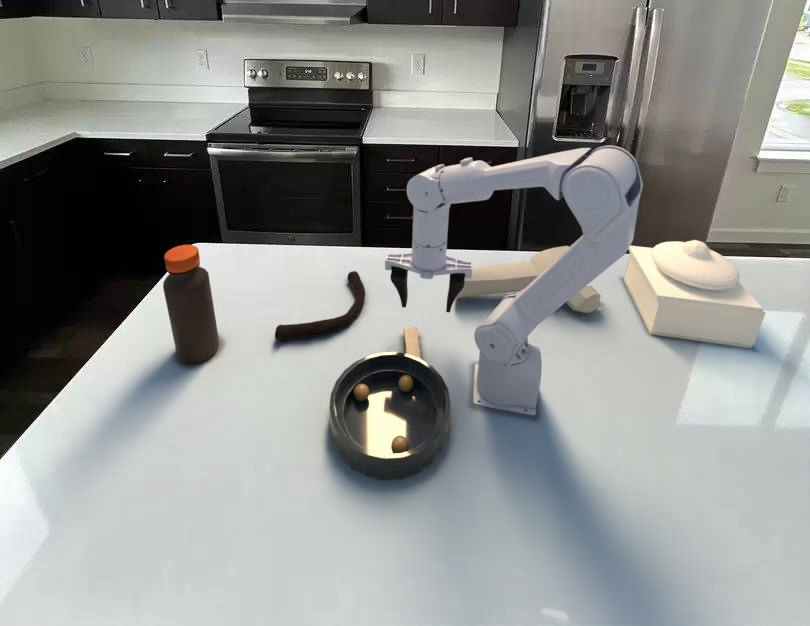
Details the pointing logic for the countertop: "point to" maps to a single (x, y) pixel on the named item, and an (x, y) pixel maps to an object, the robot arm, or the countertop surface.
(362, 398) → the bead
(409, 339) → the block
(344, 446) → the bowl
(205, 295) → the bottle
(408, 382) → the bead
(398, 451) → the bead
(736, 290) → the butter dish
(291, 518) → the countertop surface
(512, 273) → the faceted mallet
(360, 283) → the branch
